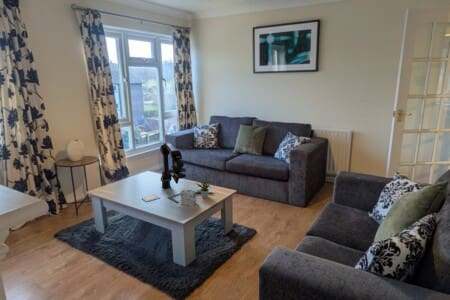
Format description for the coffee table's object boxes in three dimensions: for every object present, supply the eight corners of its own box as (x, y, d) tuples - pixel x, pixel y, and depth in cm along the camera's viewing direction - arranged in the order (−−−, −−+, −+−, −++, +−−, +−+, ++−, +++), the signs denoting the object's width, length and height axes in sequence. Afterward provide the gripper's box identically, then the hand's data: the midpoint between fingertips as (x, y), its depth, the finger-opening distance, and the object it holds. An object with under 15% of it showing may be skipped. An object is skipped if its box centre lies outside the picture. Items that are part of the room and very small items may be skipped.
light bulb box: (196, 202, 234) (196, 189, 231) (193, 206, 228) (193, 193, 225) (184, 201, 237) (183, 188, 234) (180, 204, 230) (180, 191, 228)
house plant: (207, 191, 255) (206, 173, 251) (217, 196, 245) (217, 177, 241) (193, 196, 246) (193, 177, 242) (203, 201, 236) (203, 182, 232)
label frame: (181, 193, 252) (181, 193, 252) (190, 198, 241) (190, 198, 241) (167, 197, 244) (167, 197, 244) (176, 203, 233) (176, 202, 233)
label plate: (155, 194, 250) (154, 194, 249) (159, 198, 243) (159, 197, 243) (141, 198, 242) (141, 197, 242) (146, 202, 236) (146, 201, 235)
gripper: (190, 165, 234) (191, 183, 238) (177, 160, 247) (178, 178, 251) (179, 168, 227) (180, 187, 231) (166, 163, 240) (167, 181, 244)
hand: (176, 183), depth 239 cm, fingers closed
